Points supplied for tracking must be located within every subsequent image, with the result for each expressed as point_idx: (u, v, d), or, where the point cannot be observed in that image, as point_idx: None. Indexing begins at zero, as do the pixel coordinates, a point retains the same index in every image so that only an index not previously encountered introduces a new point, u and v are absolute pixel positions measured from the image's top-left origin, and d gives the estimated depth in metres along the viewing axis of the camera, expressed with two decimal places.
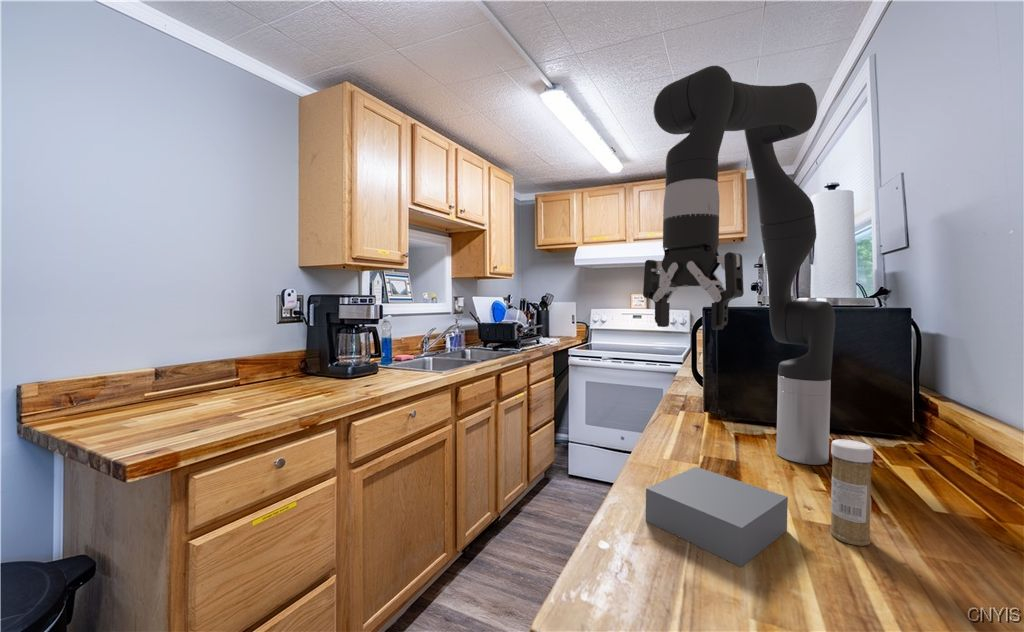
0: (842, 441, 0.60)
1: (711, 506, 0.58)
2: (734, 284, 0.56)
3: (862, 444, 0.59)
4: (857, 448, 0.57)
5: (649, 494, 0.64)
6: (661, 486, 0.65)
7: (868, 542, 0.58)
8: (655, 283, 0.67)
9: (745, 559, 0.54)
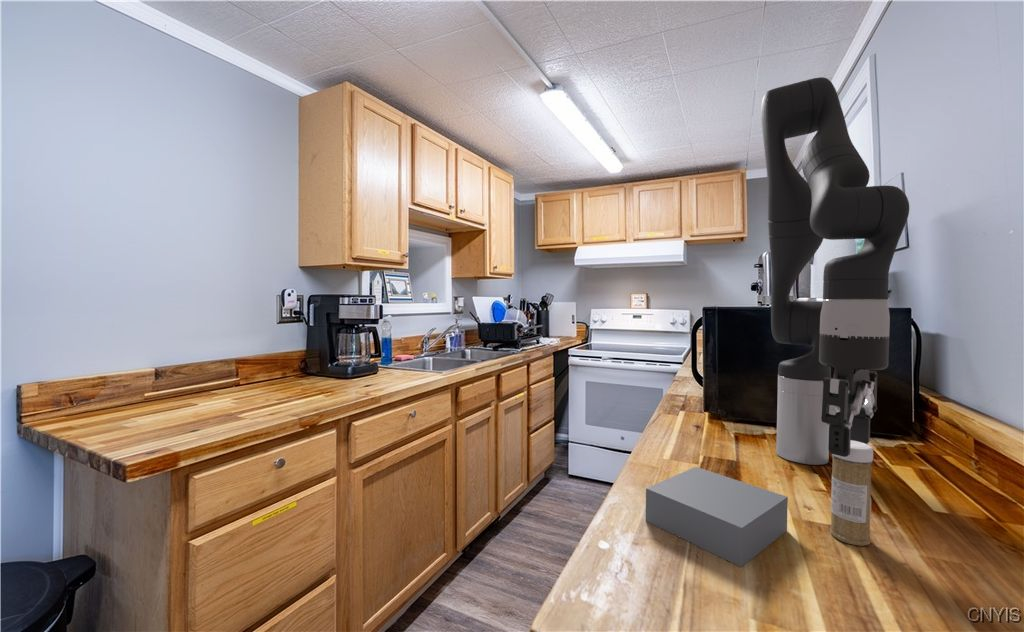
0: None
1: (711, 506, 0.58)
2: (876, 400, 0.62)
3: (862, 444, 0.59)
4: (857, 448, 0.57)
5: (649, 494, 0.64)
6: (661, 486, 0.65)
7: (868, 542, 0.58)
8: (829, 405, 0.56)
9: (745, 559, 0.54)
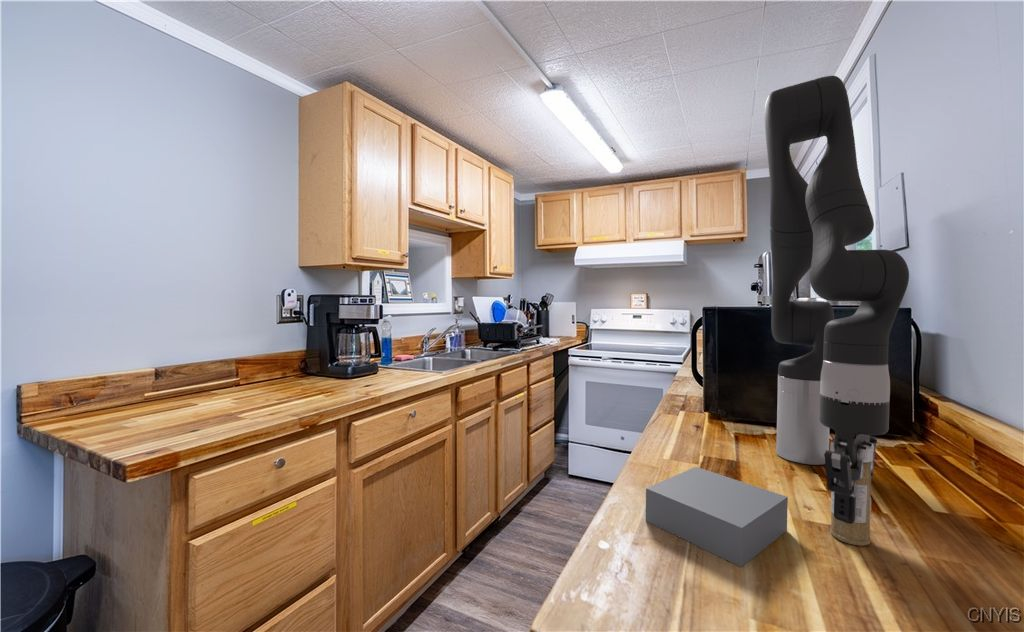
0: None
1: (711, 506, 0.58)
2: (873, 467, 0.62)
3: None
4: None
5: (649, 494, 0.64)
6: (661, 486, 0.65)
7: (868, 542, 0.58)
8: None
9: (745, 559, 0.54)
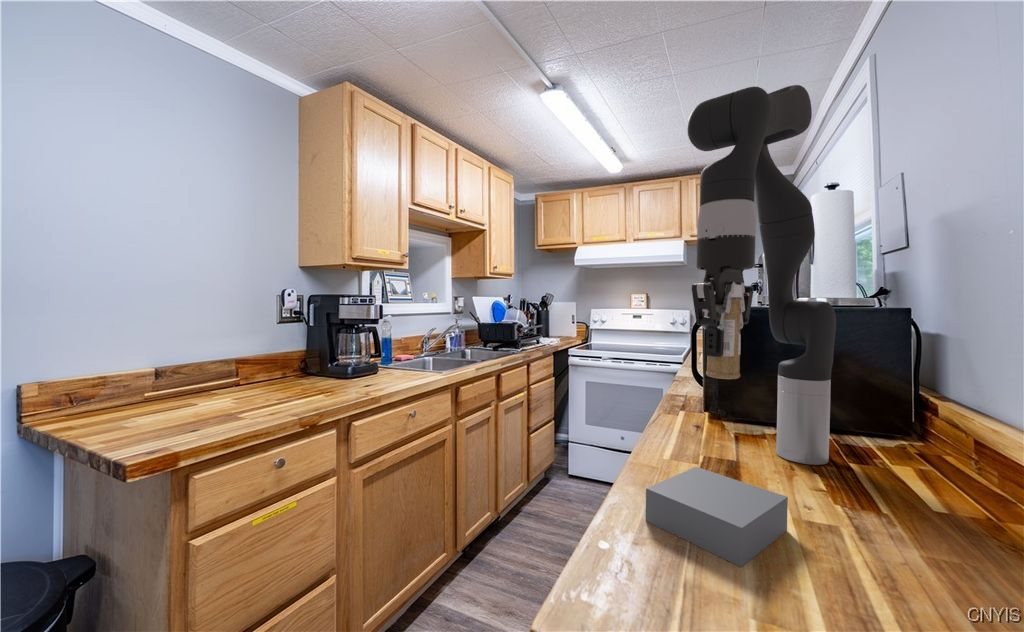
0: None
1: (711, 506, 0.58)
2: (749, 314, 0.64)
3: None
4: None
5: (649, 494, 0.64)
6: (661, 486, 0.65)
7: (736, 376, 0.60)
8: (701, 308, 0.59)
9: (745, 559, 0.54)
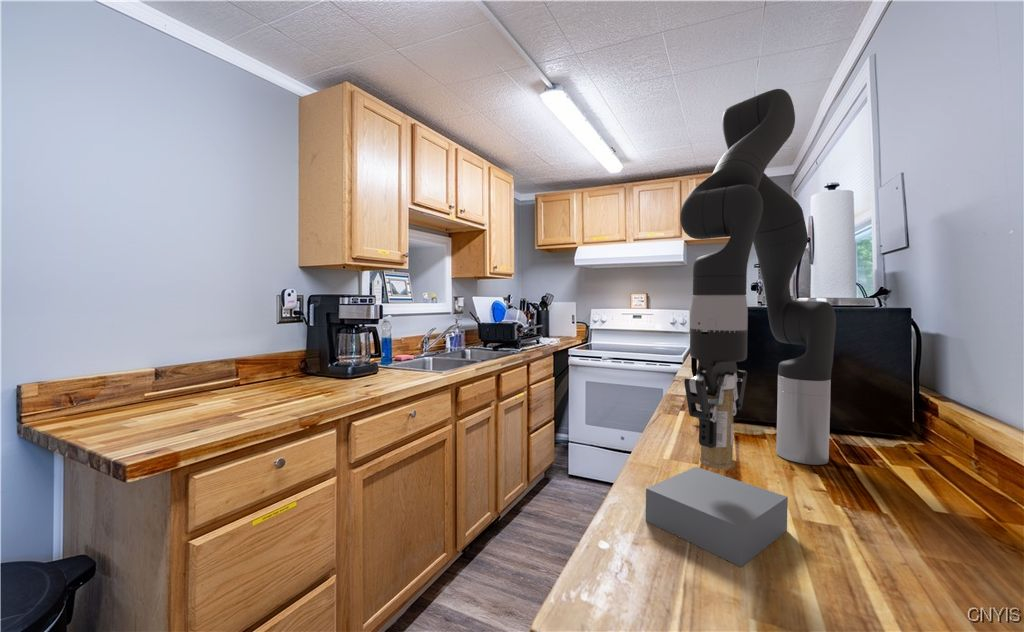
0: None
1: (711, 506, 0.58)
2: None
3: None
4: None
5: (649, 494, 0.64)
6: (661, 486, 0.65)
7: (729, 466, 0.61)
8: None
9: (745, 559, 0.54)
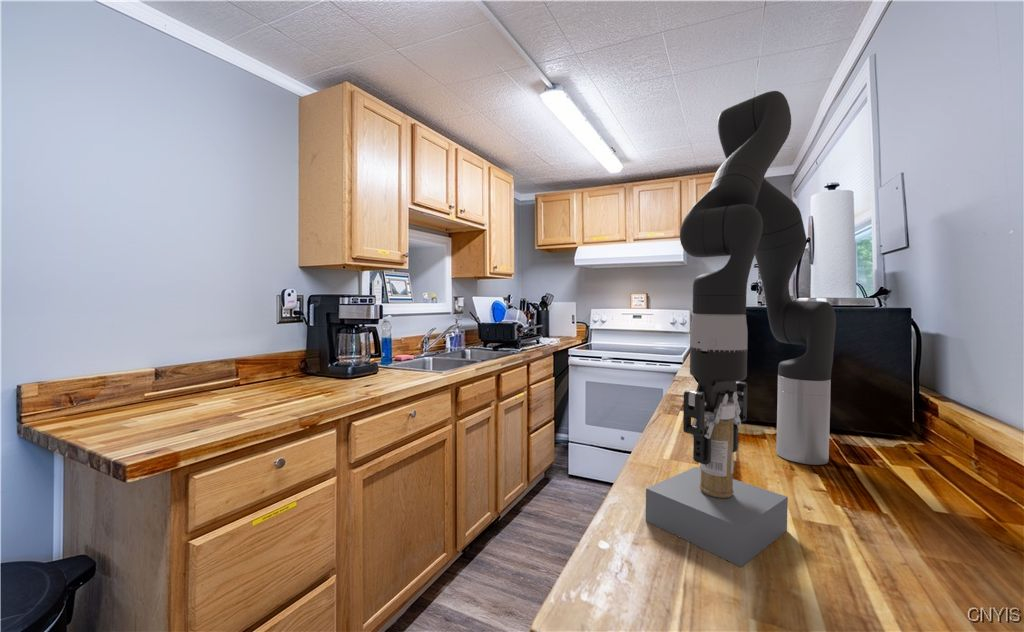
0: None
1: (711, 506, 0.58)
2: (746, 409, 0.65)
3: (727, 403, 0.62)
4: None
5: (649, 494, 0.64)
6: (661, 486, 0.65)
7: (729, 494, 0.61)
8: (690, 416, 0.59)
9: (745, 559, 0.54)
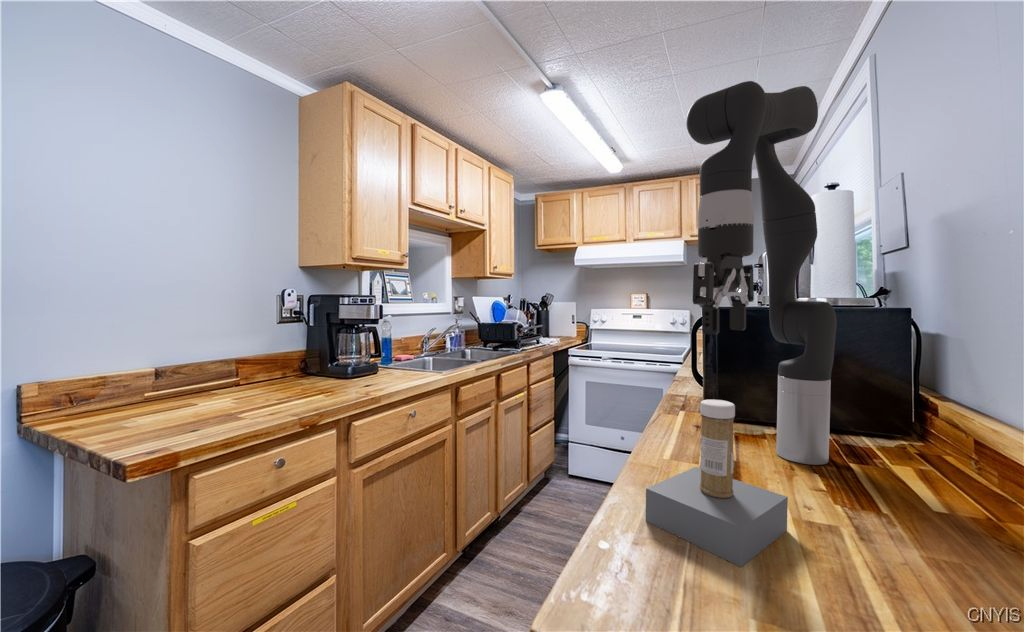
0: (710, 400, 0.63)
1: (711, 506, 0.58)
2: (753, 291, 0.68)
3: (726, 402, 0.62)
4: (718, 405, 0.60)
5: (649, 494, 0.64)
6: (661, 486, 0.65)
7: (729, 495, 0.61)
8: (699, 288, 0.61)
9: (745, 559, 0.54)
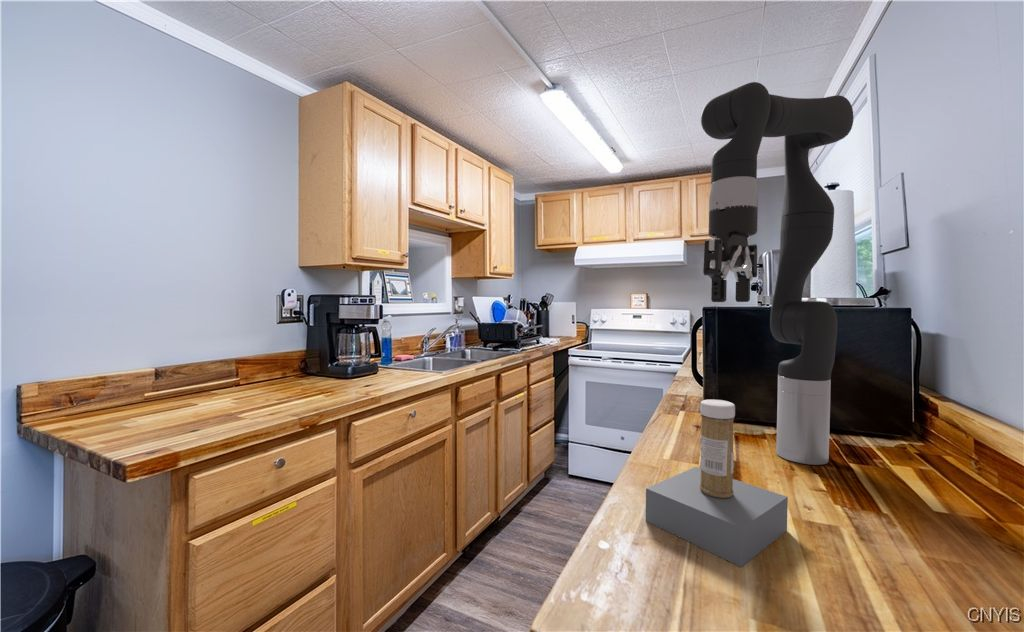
0: (710, 400, 0.63)
1: (711, 506, 0.58)
2: None
3: (726, 402, 0.62)
4: (718, 405, 0.60)
5: (649, 494, 0.64)
6: (661, 486, 0.65)
7: (729, 495, 0.61)
8: (709, 261, 0.71)
9: (745, 559, 0.54)
